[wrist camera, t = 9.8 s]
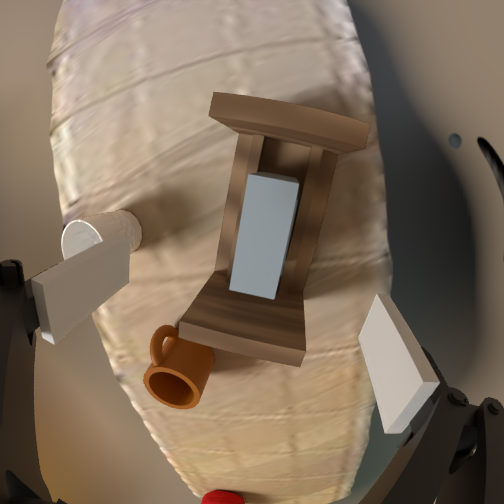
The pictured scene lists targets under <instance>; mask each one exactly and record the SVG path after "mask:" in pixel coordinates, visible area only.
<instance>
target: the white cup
mask: <svg viewBox="0 0 504 504" xmlns="http://www.w3.org/2000/svg"><path fill="white" fill-rule="evenodd" d="M117 234H123V235H127V236H131V237H130V254H132V253H133V252H134V251H135V250H136V249H137V248H138V247H139V245H140V242H141V240H142V230H141V226H140V224H139V222H138V220H137V218H136V217H135V216H134V215H133V214H132V213H131V212H128V211H125V210H118V211H114V212H106V213H101V214H96V215H92V216H88V217H85V218H81V219H77V220H74V221H72V222H70V223H69V224H68V225H67V226H66V227H65V229H64V232H63V235H62V243H61V244H62V252H63V256H64V259H65V260H66V259H68V258H70V257H72V256H74V255H76V254H78V253H80V252H82V251H84V250H86V249H88V248H90V247H92V246H94V245H96V244H98V243H100V242H102V241H104V240H106V239H109V238H111V237H113V236H115V235H117Z"/></svg>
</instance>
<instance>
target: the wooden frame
mask: <svg viewBox="0 0 504 504" xmlns="http://www.w3.org/2000/svg"><path fill="white" fill-rule="evenodd" d="M208 116H210V117H211V118H213V119H215V120H217V121H219V122H220V123H222V124H224V125H226V126H227V127H229V128H231V129H232V130H234V131H236V132H237V133H239V136H238V141H237V147H236V152H235V157H234V162H233V167H232V172H231V178H230V183H229V189H228V194H227V200H226V205H225V211H224V217H223V222H222V228H221V234H220V240H219V246H218V252H217V259H216V265H215V271H214V273H213V274H212V275H211V277H210V278H209V280H208V281H207V282H206V284H205V285H204V287H203V288H202V289H201V291H200V292H199V294H198V295H197V297H196V298H195V299H194V301H193V302H192V304H191V305H190V307H189V308H188V309H187V311H186V312H185V314H184V315H183V317H182V318H181V319H180V321H179V335H178V337H179V338H182V339H185V340H189V341H192V342H196V343H199V344H202V345H206V346H210V347H213V348H217V349H221V350H225V351H229V352H232V353H236V354H241V355H245V356H249V357H253V358H258V359H262V360H267V361H271V362H276V363H281V364H286V365H291V366H296V367H300V366H301V363H302V361H303V358H304V356H305V353H306V338H305V318H304V301H303V290H304V286H305V283H306V279H307V276H308V272H309V269H310V265H311V262H312V258H313V254H314V251H315V247H316V243H317V240H318V236H319V232H320V228H321V224H322V220H323V216H324V212H325V208H326V204H327V200H328V196H329V191H330V187H331V183H332V178H333V174H334V169H335V165H336V160H337V156H338V154H343V153H347V152H352V151H356V150H361V149H365V148H366V143H367V138H368V133H369V127H370V124H369V123H366V122H363V121H359V120H356V119H353V118H349V117H346V116H342V115H338V114H335V113H331V112H327V111H323V110H319V109H315V108H311V107H306V106H302V105H297V104H292V103H287V102H282V101H277V100H271V99H265V98H259V97H252V96H245V95H237V94H229V93H220V92H213V97H212V101H211V106H210V111H209V115H208ZM262 171H265V172H270V173H275V174H280V175H285V176H290V177H295V178H297V180H298V182H299V188H298V193H297V198H298V203H297V208H296V213H295V217H294V222H293V227H292V231H291V236H290V241H289V245H288V250H287V254H286V259H285V263H284V268H283V272H282V276H280V277H279V281H278V286H277V290H276V294H275V298H274V299H269V298H265V297H260V296H255V295H251V294H246V293H242V292H237V291H233V290H229V289H230V282H231V276H232V269H233V263H234V257H235V251H236V245H237V238H238V232H239V226H240V220H241V214H242V208H243V202H244V197H245V191H246V185H247V179H248V174H252V173H257V172H262Z"/></svg>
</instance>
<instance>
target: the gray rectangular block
mask: <svg viewBox="0 0 504 504" xmlns="http://www.w3.org/2000/svg"><path fill="white" fill-rule="evenodd" d="M298 188H299V182H298V180H297V178H295V177H290V176H285V175H280V174H275V173H270V172H265V171H262V172H257V173H252V174H248V179H247V185H246V191H245V197H244V202H243V208H242V214H241V220H240V226H239V232H238V238H237V245H236V251H235V257H234V263H233V269H232V276H231V282H230V289H229V290H233V291H237V292H242V293H246V294H251V295H255V296H260V297H265V298H269V299H274V298H275V294H276V290H277V286H278V281H279V277H280V276H282V272H283V268H284V263H285V259H286V254H287V250H288V245H289V241H290V236H291V231H292V227H293V222H294V217H295V213H296V208H297V203H298V198H297V193H298Z"/></svg>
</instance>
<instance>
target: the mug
mask: <svg viewBox="0 0 504 504" xmlns="http://www.w3.org/2000/svg"><path fill="white" fill-rule="evenodd" d="M178 335H179V332H178V330H177V329H176V328H175V327H173V326H171V325H164V326H161V327H159V328H158V329H157V330H156V331H155V333H154V334H153V336H152V339H151V343H150V356H151V360H152V363H151V365H150V366H149V368H148V369H147V371H146V372H145V374H144V379H143V381H144V384H145V387H146V389H147V390H148V392H149V393H150V394H151V395H152V396H153V397H154V398H155V399H156V400H158V401H160V402H161V403H163V404H165V405H167V406H169V407H172V408H177V409H190V408H193V407H195V406H196V405H197V404H198V403H199V401H200V398H201V395H202V393H203V390H204V388H205V385H206V382H207V380H208V377H209V375H210V372H211V370H212V367H213V364H214V361H215V359H214V353H213V351H212V349H211V347H210V346H206V345H202V344H199V343H196V342H192V341H189V340H185V339H182V338H179V337H178ZM165 337H168V339H167V341H166V342H165V344H164V345H163V347H162V344H163V341H164V339H165Z"/></svg>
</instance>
